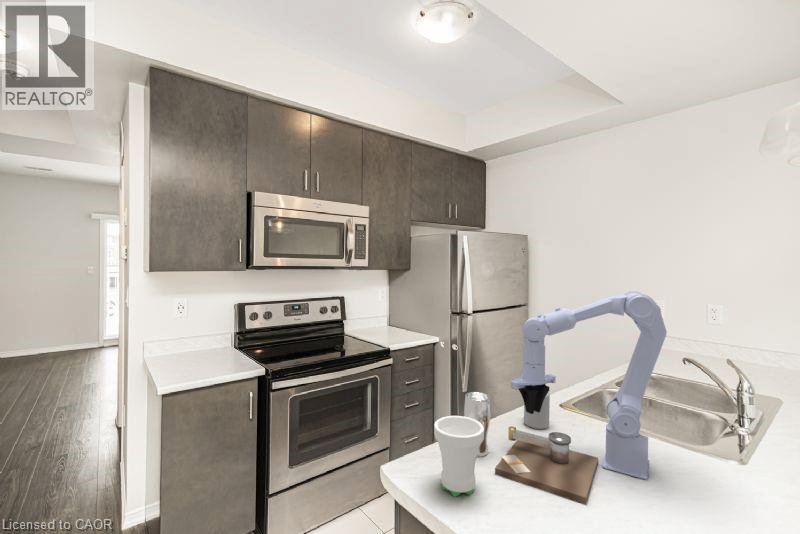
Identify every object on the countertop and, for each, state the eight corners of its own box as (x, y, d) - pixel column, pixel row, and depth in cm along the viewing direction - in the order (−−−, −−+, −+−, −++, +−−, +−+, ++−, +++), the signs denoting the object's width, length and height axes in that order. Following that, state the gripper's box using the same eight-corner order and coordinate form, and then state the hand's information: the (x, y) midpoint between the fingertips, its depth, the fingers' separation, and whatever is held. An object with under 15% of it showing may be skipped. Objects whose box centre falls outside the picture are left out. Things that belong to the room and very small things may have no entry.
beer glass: (471, 442, 108) (472, 389, 108) (494, 450, 103) (495, 395, 103) (459, 451, 102) (459, 396, 102) (482, 460, 98) (483, 402, 98)
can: (545, 432, 114) (545, 393, 114) (520, 426, 119) (521, 388, 118) (552, 424, 120) (552, 386, 120) (528, 418, 125) (529, 382, 124)
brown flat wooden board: (598, 463, 97) (598, 456, 97) (586, 504, 81) (586, 496, 81) (517, 441, 109) (517, 435, 109) (492, 473, 92) (492, 465, 92)
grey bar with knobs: (572, 457, 97) (572, 435, 96) (568, 466, 92) (568, 443, 92) (511, 440, 105) (511, 420, 105) (505, 448, 101) (505, 427, 101)
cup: (491, 499, 82) (492, 434, 82) (442, 506, 80) (443, 439, 79) (471, 471, 93) (472, 413, 93) (427, 476, 91) (428, 417, 90)
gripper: (542, 356, 110) (541, 402, 111) (503, 361, 104) (502, 410, 104) (562, 362, 104) (561, 411, 104) (521, 368, 98) (520, 420, 98)
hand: (533, 411), depth 104 cm, fingers closed
